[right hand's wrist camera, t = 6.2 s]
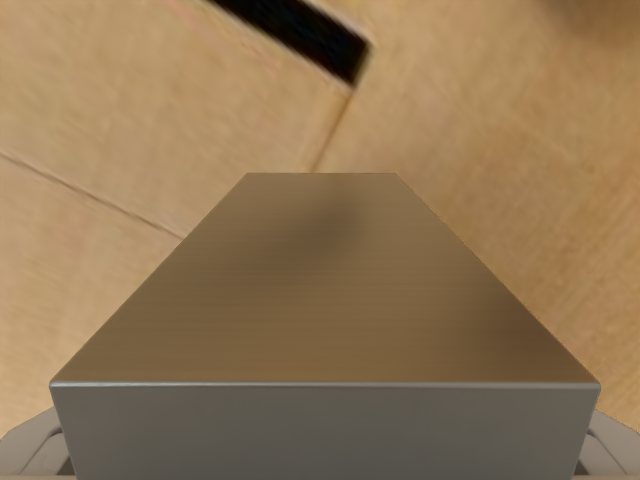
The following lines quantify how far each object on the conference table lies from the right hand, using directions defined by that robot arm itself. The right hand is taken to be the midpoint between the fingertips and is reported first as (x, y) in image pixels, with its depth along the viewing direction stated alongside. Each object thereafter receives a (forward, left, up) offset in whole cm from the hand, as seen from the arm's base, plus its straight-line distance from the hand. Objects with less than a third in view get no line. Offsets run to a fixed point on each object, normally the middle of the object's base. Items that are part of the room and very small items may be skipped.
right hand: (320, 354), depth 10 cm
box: (+7, 0, -7) cm, 10 cm away
